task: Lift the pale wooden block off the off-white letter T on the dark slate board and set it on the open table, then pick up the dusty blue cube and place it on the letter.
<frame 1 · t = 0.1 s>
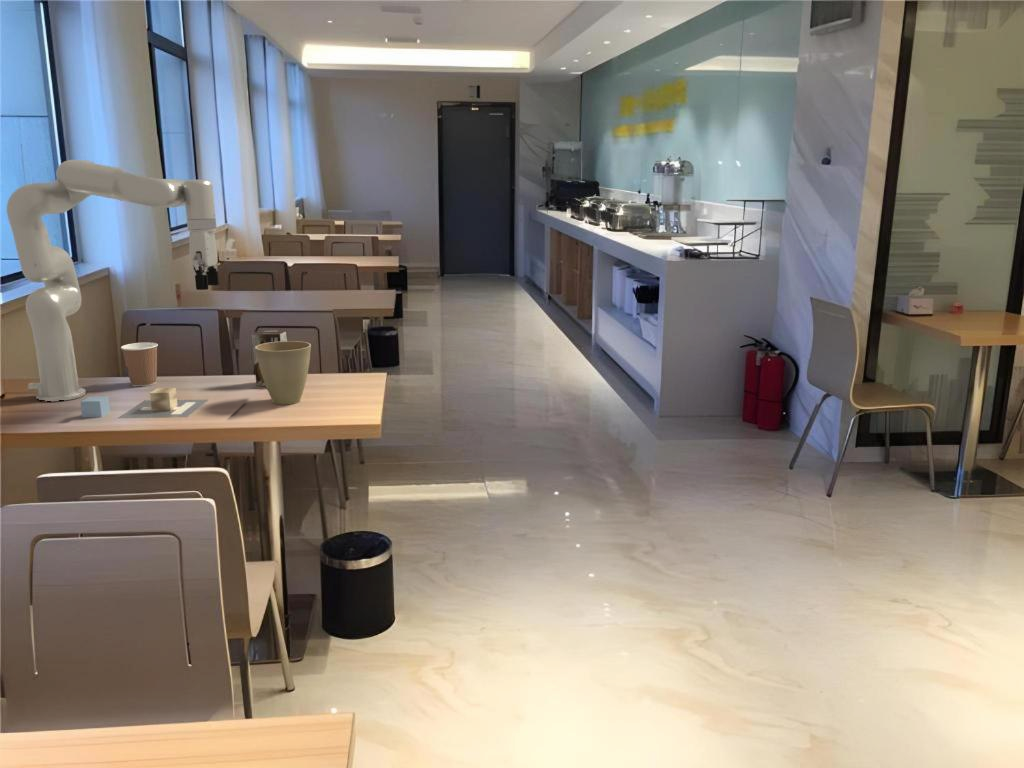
hand: (207, 287, 234), 31 cm above the table, tool pointing down, fingers open, 9 cm apart
coffee cup: (144, 384, 255), on the table
blue cube: (96, 417, 220), on the table
wood block: (164, 408, 225), point 1 cm above the table, touching letter board
letter board: (165, 410, 225), on the table
coffee box: (273, 384, 254), on the table
plant pot: (287, 402, 234), on the table
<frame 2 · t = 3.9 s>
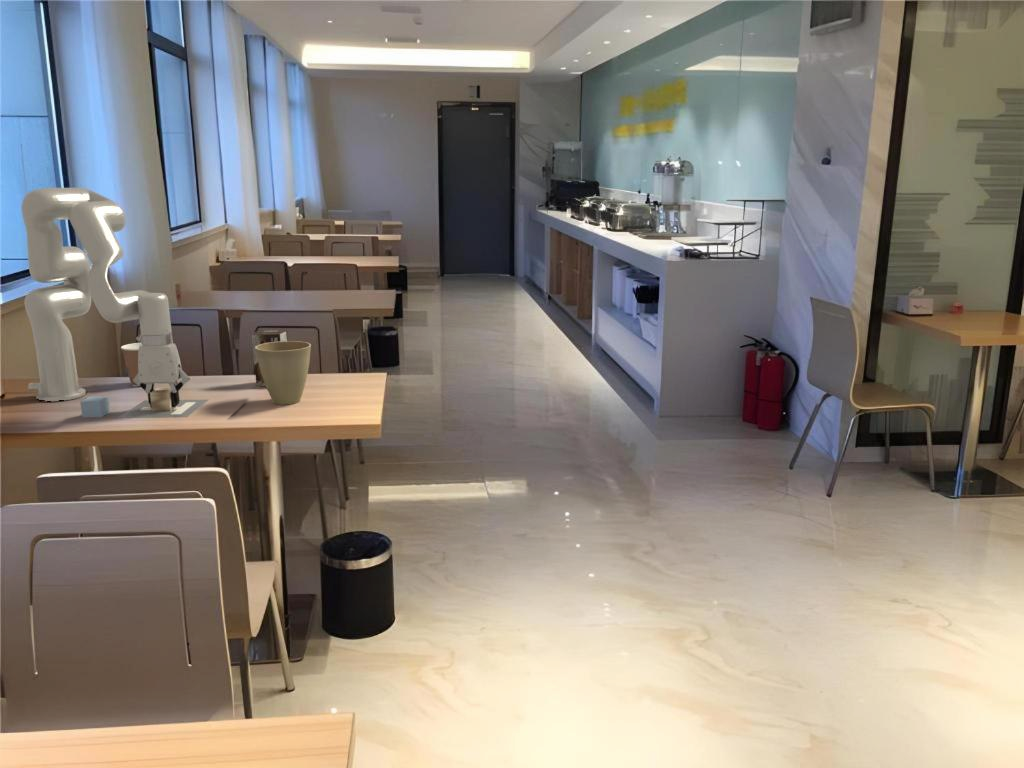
hand: (164, 405, 225), 1 cm above the table, tool pointing down, fingers closed on wood block, 4 cm apart
wood block: (164, 408, 225), point 1 cm above the table, touching gripper, letter board
everything else where it was.
when the fingers open (2 cm above the table, at t = 10.0 s): wood block drops 2 cm, on the table.
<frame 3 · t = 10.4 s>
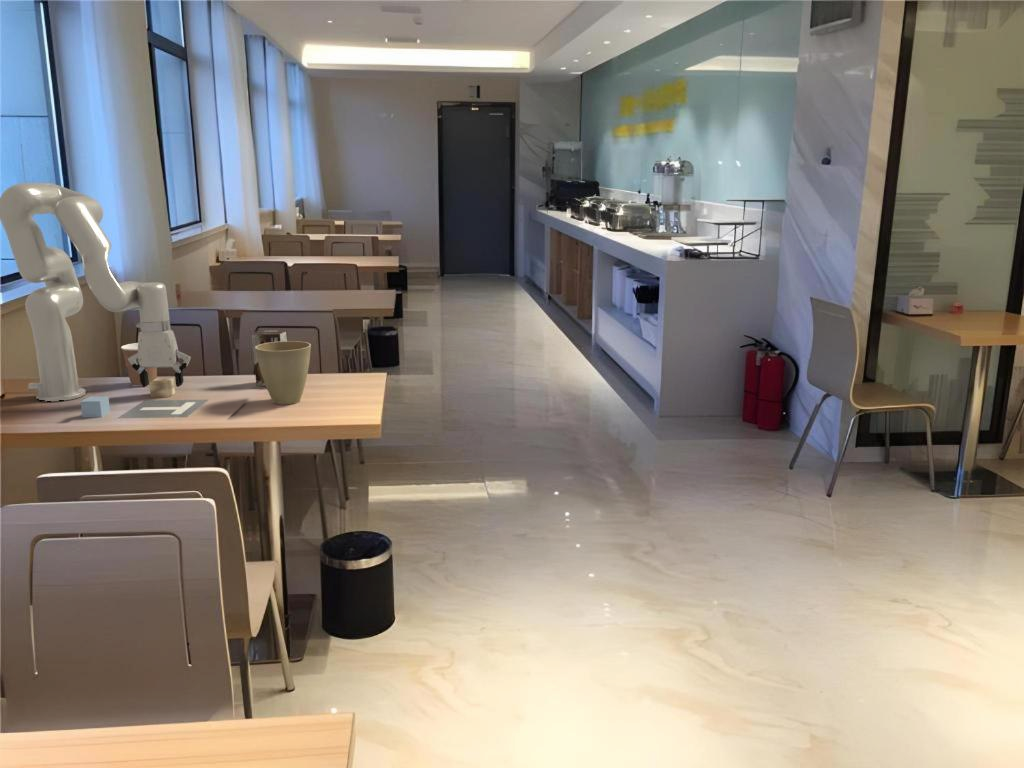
hand: (162, 385, 239), 3 cm above the table, tool pointing down, fingers open, 9 cm apart
wood block: (163, 397, 240), on the table
everything else where it was.
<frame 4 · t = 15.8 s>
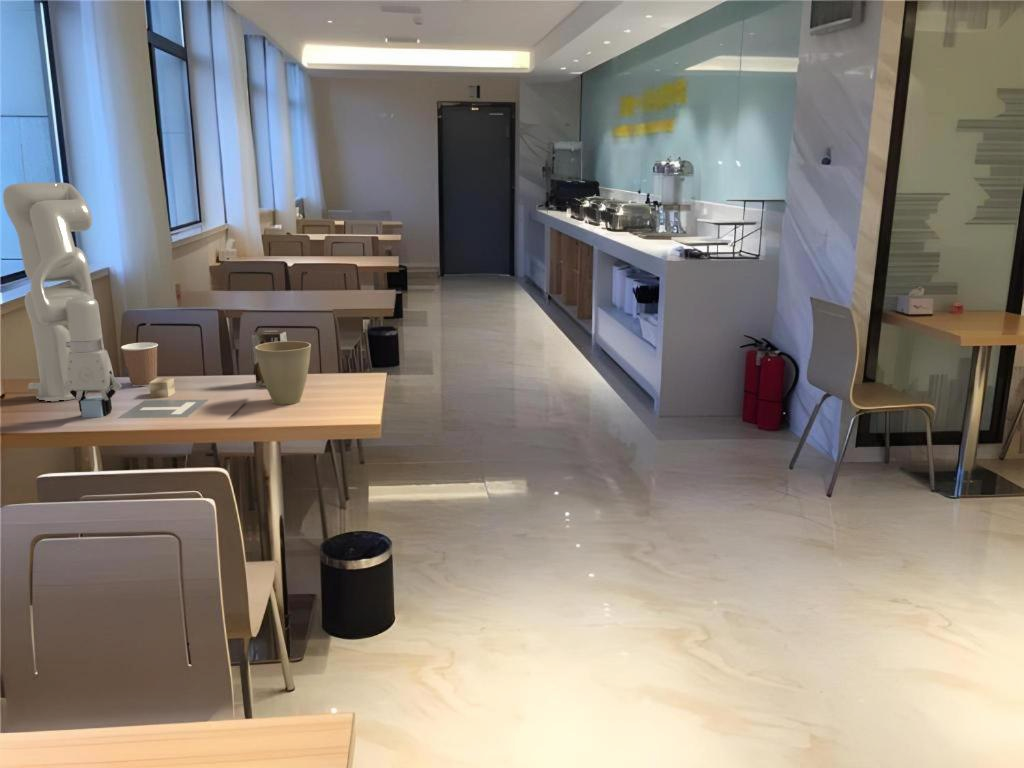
hand: (96, 413, 220), 1 cm above the table, tool pointing down, fingers closed on blue cube, 5 cm apart
blue cube: (96, 416, 220), on the table, touching gripper
everything else where it was.
when the fingers open (3 cm above the table, at t = 22.4 s): blue cube drops 1 cm, resting on letter board.
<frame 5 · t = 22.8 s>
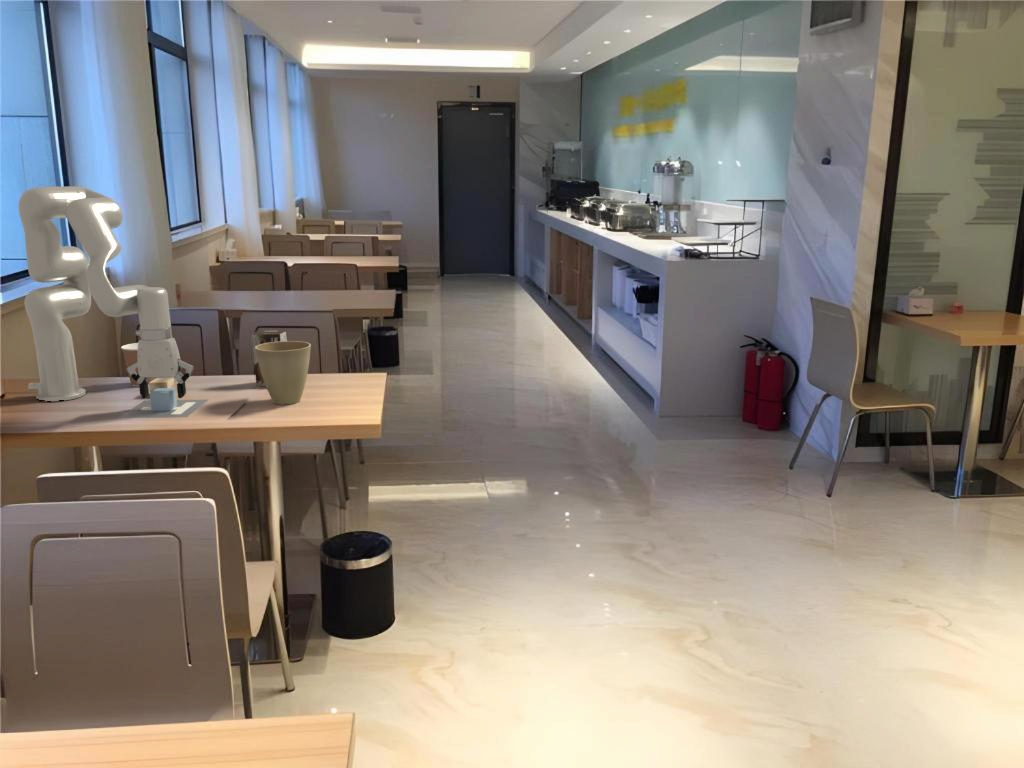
hand: (163, 397, 224), 4 cm above the table, tool pointing down, fingers open, 9 cm apart
blue cube: (164, 408, 225), point 1 cm above the table, touching letter board
everything else where it was.
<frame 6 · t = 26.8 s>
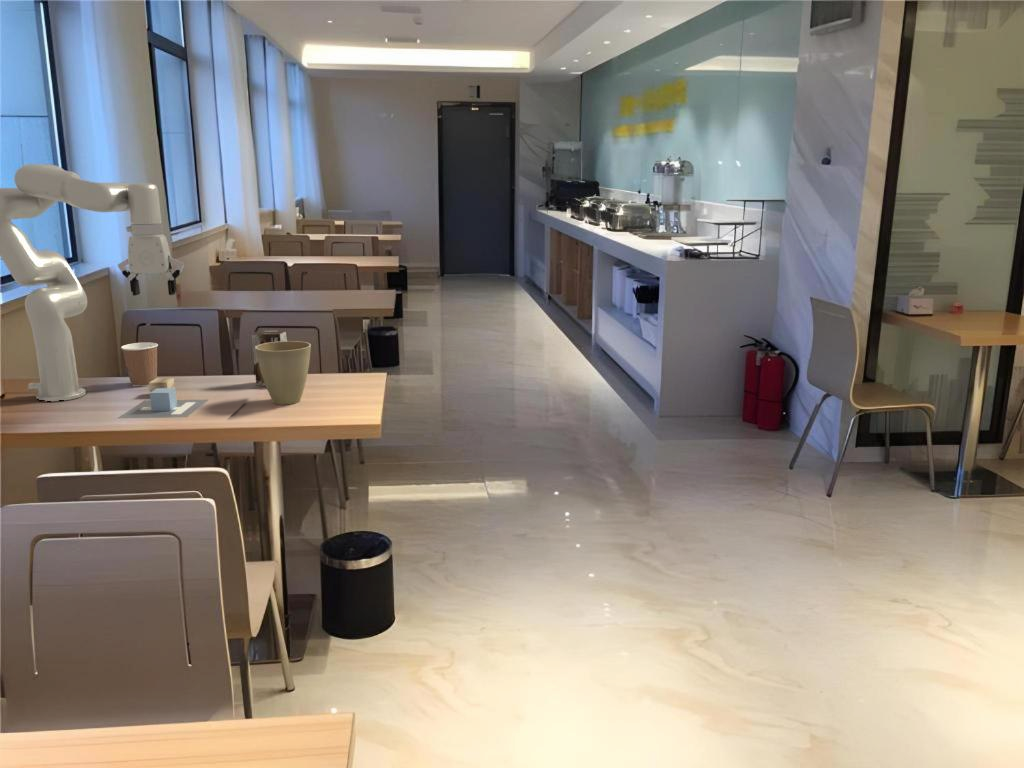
hand: (154, 294, 226), 30 cm above the table, tool pointing down, fingers open, 9 cm apart
nothing on the table moved.
at the end: blue cube 0.1 cm from the letter board (horizontally); blue cube touching letter board; wood block touching table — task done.
